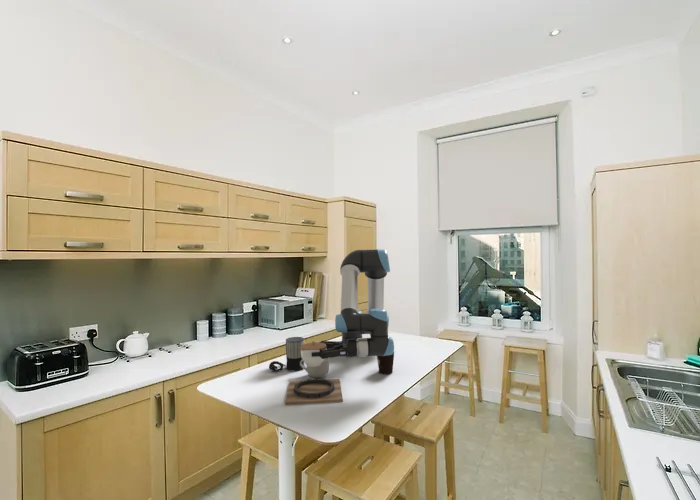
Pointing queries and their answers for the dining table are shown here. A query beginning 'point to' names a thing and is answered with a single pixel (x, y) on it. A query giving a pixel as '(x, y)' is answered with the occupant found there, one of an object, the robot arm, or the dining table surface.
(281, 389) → the dining table surface
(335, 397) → the locating board
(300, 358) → the milk frother
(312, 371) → the teacup
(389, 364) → the coffee mug
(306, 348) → the lidded jar
